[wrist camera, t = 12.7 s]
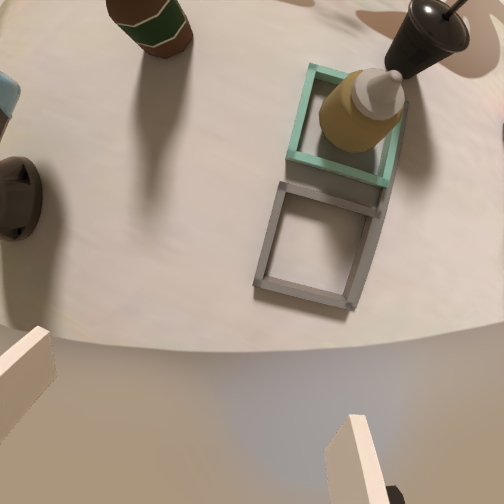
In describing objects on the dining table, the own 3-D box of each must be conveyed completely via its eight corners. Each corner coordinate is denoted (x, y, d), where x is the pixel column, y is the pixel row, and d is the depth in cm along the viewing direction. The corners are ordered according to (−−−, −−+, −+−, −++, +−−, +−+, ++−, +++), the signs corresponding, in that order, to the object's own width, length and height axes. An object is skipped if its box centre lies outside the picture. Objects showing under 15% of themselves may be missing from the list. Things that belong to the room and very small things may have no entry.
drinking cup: (431, 83, 32) (511, 29, 12) (391, 93, 33) (465, 28, 13) (407, 40, 31) (468, -31, 11) (366, 47, 32) (416, -37, 12)
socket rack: (253, 280, 39) (252, 285, 37) (307, 70, 34) (309, 62, 31) (354, 305, 39) (359, 312, 36) (406, 103, 33) (413, 98, 31)
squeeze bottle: (350, 88, 34) (395, 20, 16) (386, 137, 34) (458, 101, 17) (302, 117, 35) (320, 56, 17) (339, 168, 36) (390, 147, 18)
